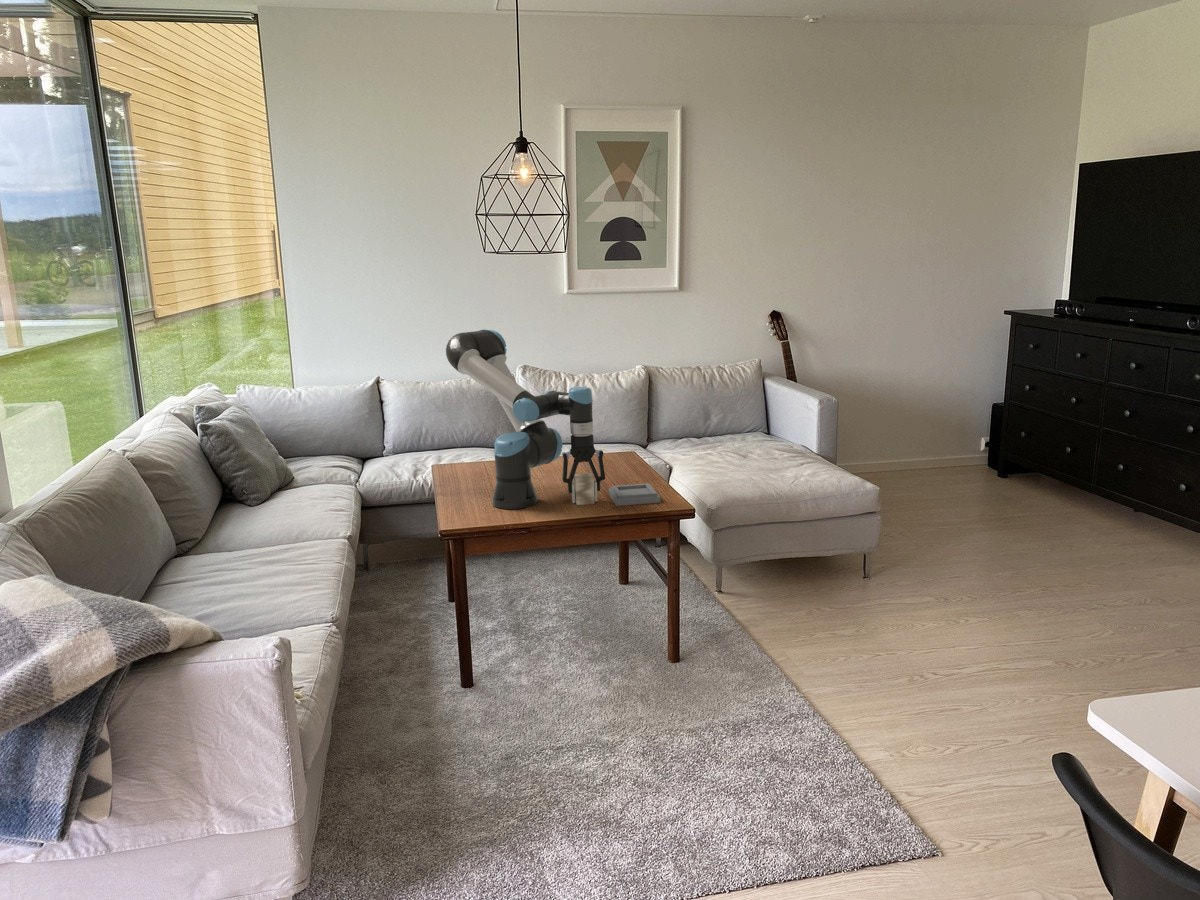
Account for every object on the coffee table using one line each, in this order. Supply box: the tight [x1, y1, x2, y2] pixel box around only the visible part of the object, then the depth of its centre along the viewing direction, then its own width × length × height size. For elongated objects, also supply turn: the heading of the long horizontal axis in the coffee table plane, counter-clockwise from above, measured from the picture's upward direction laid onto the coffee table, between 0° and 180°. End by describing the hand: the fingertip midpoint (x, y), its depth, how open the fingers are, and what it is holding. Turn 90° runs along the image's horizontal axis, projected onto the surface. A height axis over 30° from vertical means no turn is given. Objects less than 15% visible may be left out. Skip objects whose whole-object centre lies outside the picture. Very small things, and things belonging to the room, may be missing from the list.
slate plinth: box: [608, 483, 662, 507], centre depth 296 cm, size 15×15×3 cm
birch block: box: [573, 472, 595, 506], centre depth 293 cm, size 6×6×9 cm
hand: (584, 501), depth 294 cm, fingers open, 7 cm apart
